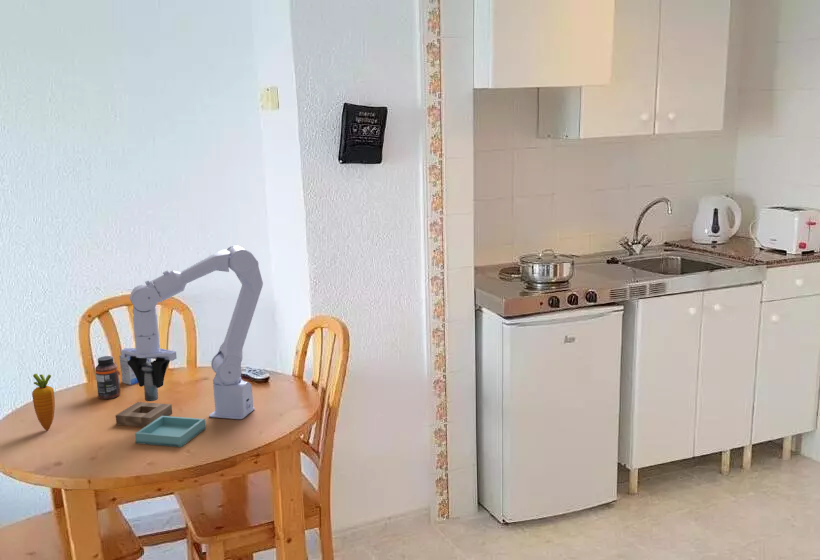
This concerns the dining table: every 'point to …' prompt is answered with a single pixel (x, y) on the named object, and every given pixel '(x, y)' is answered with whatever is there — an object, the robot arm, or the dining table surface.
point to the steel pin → (149, 382)
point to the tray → (170, 431)
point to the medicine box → (128, 371)
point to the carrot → (44, 401)
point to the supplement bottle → (107, 378)
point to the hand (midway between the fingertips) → (151, 385)
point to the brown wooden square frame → (143, 414)
